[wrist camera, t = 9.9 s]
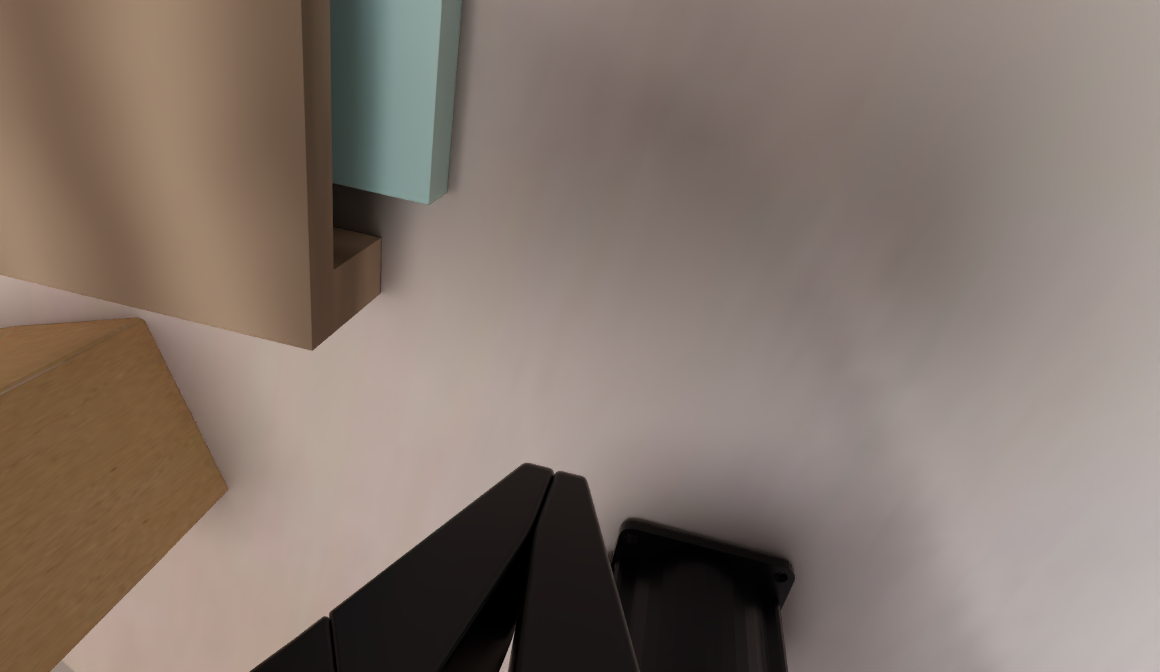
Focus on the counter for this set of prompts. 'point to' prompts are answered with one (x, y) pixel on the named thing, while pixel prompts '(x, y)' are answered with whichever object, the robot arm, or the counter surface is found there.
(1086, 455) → the counter surface
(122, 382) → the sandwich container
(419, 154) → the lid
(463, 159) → the counter surface
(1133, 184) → the counter surface
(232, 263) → the low shelf
